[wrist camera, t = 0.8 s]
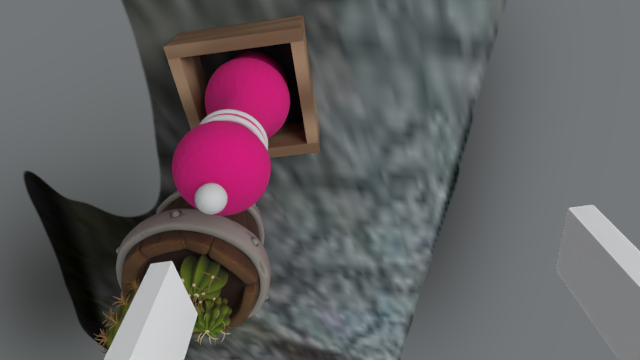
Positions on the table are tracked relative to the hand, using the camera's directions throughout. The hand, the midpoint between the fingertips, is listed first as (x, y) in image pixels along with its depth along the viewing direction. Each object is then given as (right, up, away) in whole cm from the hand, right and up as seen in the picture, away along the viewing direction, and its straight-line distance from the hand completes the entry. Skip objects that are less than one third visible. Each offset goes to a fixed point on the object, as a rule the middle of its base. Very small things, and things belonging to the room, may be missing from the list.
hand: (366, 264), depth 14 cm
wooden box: (-8, +12, +25) cm, 29 cm away
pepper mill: (-8, +12, +25) cm, 29 cm away
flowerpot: (-14, -1, +34) cm, 36 cm away
